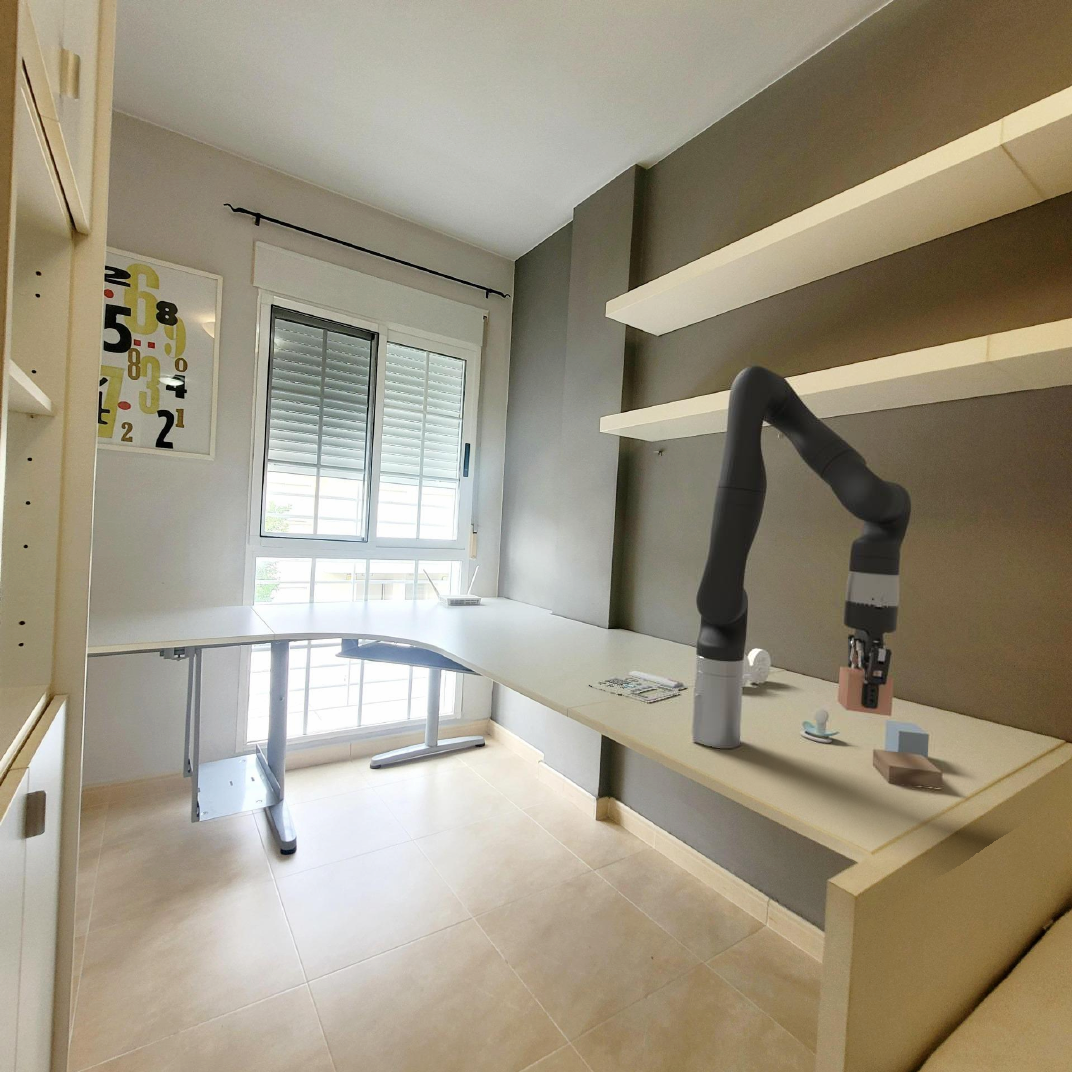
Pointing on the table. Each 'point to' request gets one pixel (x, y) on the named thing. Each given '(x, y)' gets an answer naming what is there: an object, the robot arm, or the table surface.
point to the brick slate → (906, 738)
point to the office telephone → (641, 687)
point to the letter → (756, 666)
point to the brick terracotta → (853, 692)
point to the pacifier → (818, 727)
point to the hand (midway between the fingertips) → (863, 702)
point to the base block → (906, 769)
